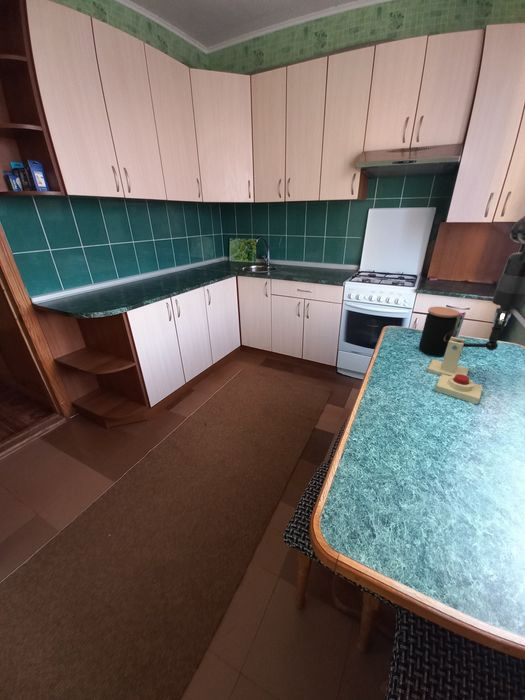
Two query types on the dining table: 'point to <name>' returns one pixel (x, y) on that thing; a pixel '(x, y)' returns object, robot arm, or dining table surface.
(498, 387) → the dining table surface
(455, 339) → the lever base
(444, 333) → the coffee jar
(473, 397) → the button block
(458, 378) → the button
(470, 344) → the black lever
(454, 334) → the candy bar box
